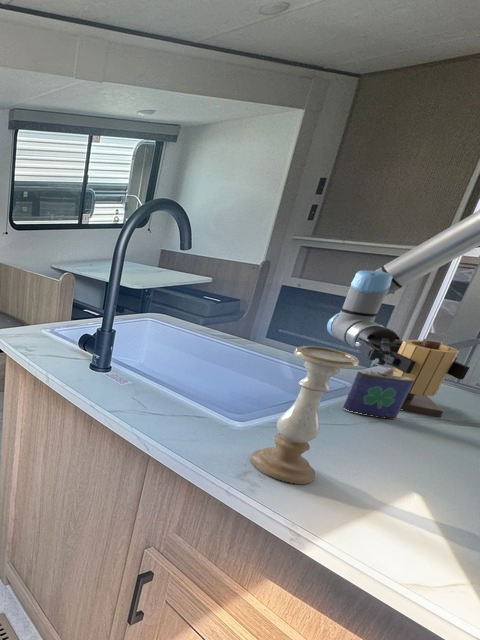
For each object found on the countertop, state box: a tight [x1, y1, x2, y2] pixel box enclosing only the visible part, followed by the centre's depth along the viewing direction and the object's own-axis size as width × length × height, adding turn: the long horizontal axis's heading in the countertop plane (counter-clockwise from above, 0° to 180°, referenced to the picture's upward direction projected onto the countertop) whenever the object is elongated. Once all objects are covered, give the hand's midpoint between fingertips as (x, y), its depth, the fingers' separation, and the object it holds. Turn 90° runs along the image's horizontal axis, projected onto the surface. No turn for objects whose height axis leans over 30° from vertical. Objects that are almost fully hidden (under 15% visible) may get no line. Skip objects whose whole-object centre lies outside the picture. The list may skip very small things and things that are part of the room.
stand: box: [400, 338, 444, 418], centre depth 94 cm, size 10×10×15 cm
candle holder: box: [250, 345, 360, 485], centre depth 66 cm, size 9×9×20 cm
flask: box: [342, 366, 414, 419], centre depth 89 cm, size 9×3×11 cm, turn 68°
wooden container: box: [390, 339, 460, 397], centre depth 94 cm, size 8×8×10 cm
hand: (437, 370), depth 89 cm, fingers closed on wooden container, 9 cm apart
